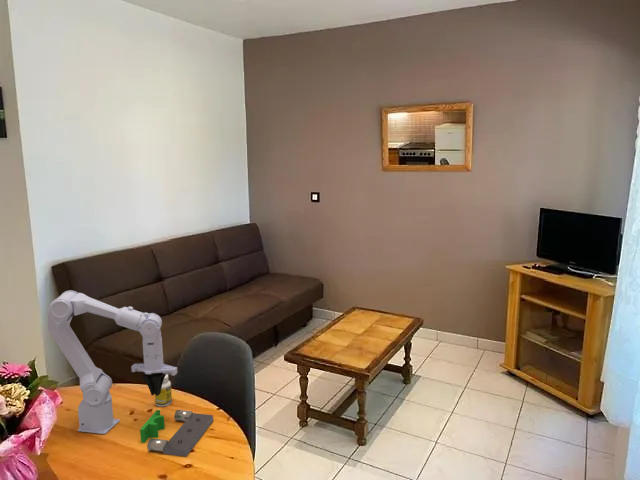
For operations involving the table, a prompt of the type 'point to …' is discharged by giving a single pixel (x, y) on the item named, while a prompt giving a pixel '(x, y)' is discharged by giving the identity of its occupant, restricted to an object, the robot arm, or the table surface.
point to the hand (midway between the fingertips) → (156, 394)
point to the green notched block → (152, 427)
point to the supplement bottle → (164, 394)
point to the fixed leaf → (183, 434)
